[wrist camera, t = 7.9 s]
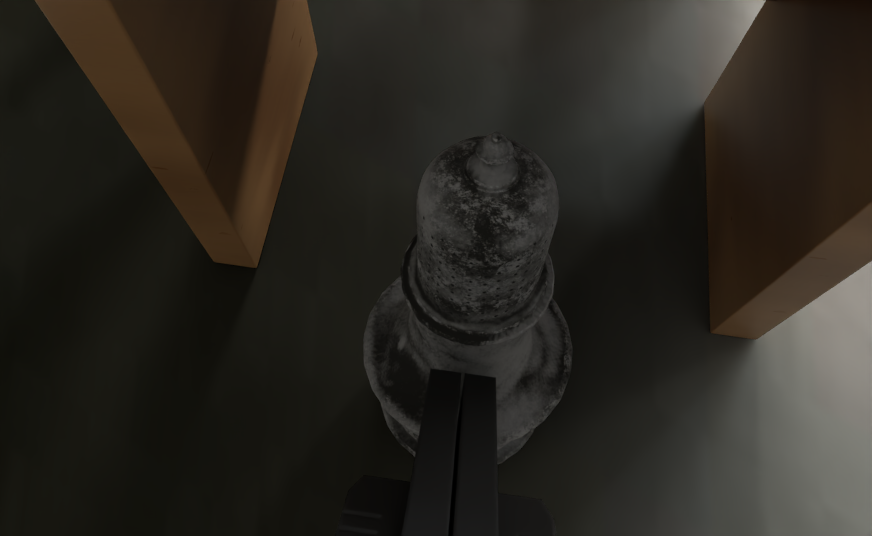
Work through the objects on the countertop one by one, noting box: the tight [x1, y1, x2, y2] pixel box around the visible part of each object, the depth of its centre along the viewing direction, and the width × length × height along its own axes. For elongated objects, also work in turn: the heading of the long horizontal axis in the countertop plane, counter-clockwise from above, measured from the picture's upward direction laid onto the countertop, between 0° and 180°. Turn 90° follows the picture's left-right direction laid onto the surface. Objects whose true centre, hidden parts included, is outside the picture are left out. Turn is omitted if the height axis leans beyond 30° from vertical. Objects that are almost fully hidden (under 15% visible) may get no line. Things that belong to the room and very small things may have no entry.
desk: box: [35, 0, 872, 340], centre depth 18 cm, size 10×21×17 cm, turn 82°
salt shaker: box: [363, 132, 573, 464], centre depth 16 cm, size 6×6×12 cm
